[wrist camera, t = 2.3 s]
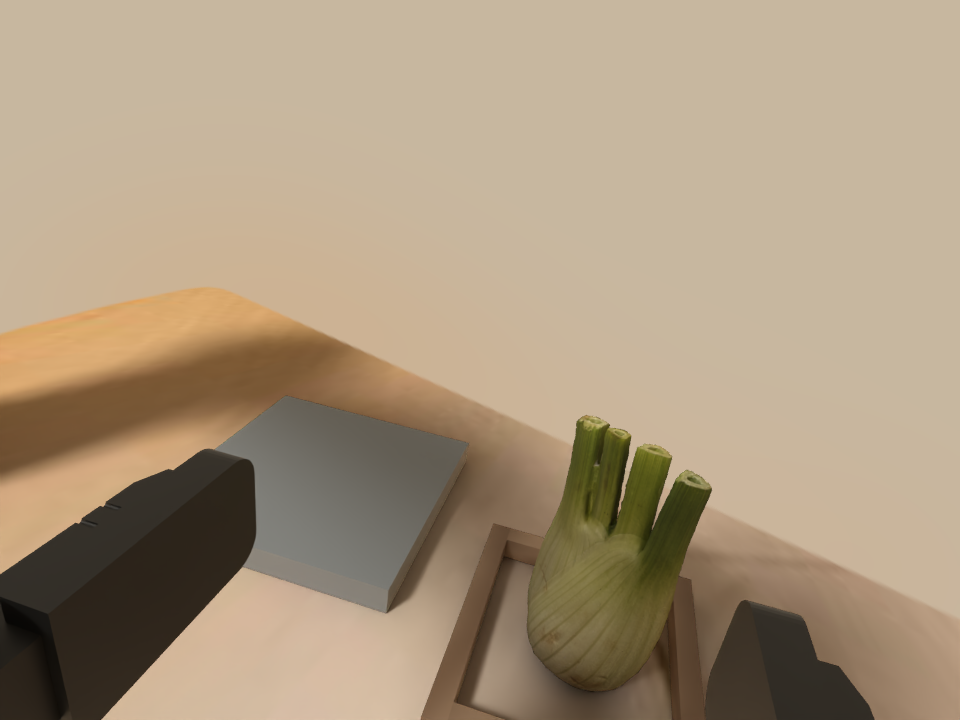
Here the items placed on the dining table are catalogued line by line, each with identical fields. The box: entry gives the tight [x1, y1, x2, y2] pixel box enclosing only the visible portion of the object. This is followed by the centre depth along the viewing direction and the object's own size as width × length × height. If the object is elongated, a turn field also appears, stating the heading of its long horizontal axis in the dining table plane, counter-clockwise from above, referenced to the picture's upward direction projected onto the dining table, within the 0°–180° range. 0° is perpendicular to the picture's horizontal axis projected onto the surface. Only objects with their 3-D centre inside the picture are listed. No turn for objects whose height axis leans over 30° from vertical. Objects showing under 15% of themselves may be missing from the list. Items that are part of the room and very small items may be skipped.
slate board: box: [215, 396, 469, 613], centre depth 35 cm, size 14×14×2 cm
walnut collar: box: [421, 524, 706, 720], centre depth 27 cm, size 11×12×1 cm
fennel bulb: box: [527, 415, 712, 692], centre depth 25 cm, size 6×5×12 cm
